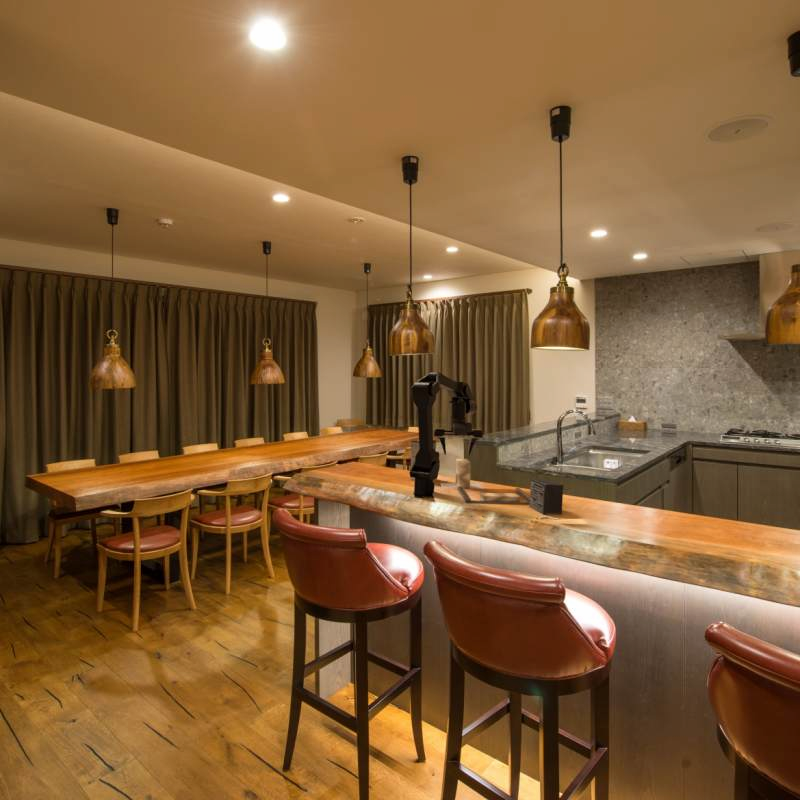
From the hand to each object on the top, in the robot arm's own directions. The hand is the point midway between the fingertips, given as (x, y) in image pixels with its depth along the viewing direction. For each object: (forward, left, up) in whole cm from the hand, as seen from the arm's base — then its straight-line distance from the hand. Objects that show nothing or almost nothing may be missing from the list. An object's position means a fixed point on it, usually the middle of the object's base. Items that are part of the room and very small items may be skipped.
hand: (456, 455), depth 200 cm
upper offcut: (+10, -30, -11) cm, 34 cm away
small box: (+22, -42, -12) cm, 49 cm away
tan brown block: (+2, -4, -12) cm, 12 cm away
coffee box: (-12, +13, -12) cm, 22 cm away
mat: (+2, -4, -12) cm, 13 cm away
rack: (+10, -24, -12) cm, 29 cm away
